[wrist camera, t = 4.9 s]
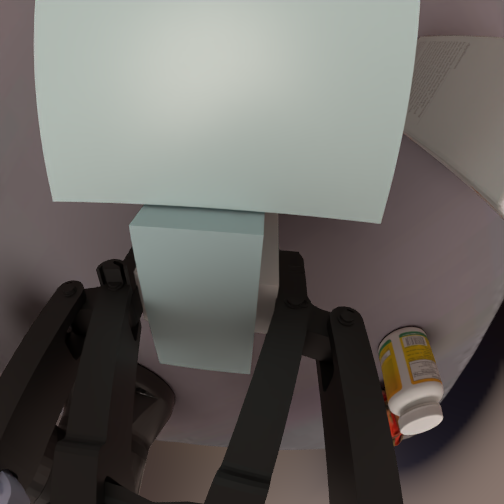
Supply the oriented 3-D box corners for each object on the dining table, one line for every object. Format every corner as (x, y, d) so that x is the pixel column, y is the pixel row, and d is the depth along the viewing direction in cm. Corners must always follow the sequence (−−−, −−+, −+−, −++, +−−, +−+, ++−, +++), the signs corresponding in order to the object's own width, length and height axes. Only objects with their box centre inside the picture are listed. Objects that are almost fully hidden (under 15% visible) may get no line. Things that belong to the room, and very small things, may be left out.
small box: (499, 109, 15) (638, 196, 4) (456, 176, 18) (569, 303, 8) (417, 32, 13) (585, 46, 3) (369, 110, 17) (495, 214, 6)
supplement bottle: (416, 317, 26) (445, 404, 19) (431, 342, 29) (455, 420, 21) (368, 342, 29) (384, 429, 21) (387, 364, 31) (403, 442, 23)
